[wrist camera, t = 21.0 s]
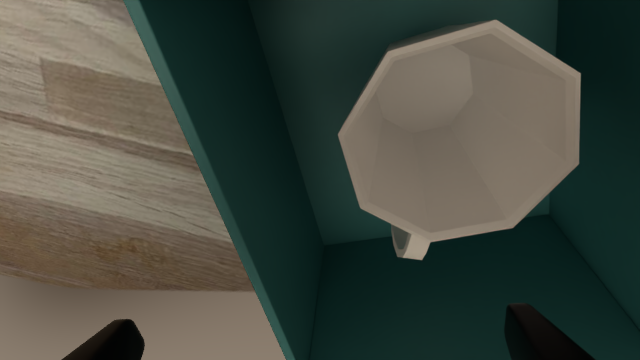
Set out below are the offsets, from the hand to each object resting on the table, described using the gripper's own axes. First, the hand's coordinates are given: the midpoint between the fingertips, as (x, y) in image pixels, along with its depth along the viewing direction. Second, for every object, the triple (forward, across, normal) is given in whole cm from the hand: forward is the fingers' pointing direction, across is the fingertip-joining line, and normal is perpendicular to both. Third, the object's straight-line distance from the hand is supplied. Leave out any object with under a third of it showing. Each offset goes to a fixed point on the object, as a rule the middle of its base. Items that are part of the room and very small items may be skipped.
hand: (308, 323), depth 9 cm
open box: (+13, -4, -1) cm, 13 cm away
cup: (+12, -4, -1) cm, 13 cm away
